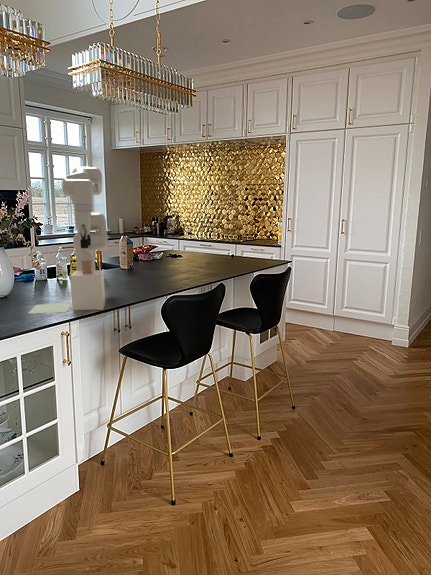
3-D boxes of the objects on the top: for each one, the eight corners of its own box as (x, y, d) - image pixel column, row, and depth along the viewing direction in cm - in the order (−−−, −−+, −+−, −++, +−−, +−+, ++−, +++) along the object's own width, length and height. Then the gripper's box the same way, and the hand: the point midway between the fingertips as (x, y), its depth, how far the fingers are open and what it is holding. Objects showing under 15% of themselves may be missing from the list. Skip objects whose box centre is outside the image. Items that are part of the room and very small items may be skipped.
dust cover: (76, 304, 209) (73, 258, 205) (105, 303, 211) (102, 257, 207) (72, 311, 196) (69, 262, 192) (103, 309, 199) (100, 261, 194)
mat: (36, 305, 206) (36, 304, 206) (71, 304, 209) (71, 303, 209) (27, 314, 191) (27, 313, 191) (66, 312, 194) (66, 311, 193)
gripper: (77, 207, 203) (79, 244, 206) (72, 209, 186) (74, 249, 190) (94, 207, 204) (96, 244, 208) (90, 209, 187) (92, 249, 191)
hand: (86, 246), depth 199 cm, fingers open, 9 cm apart
